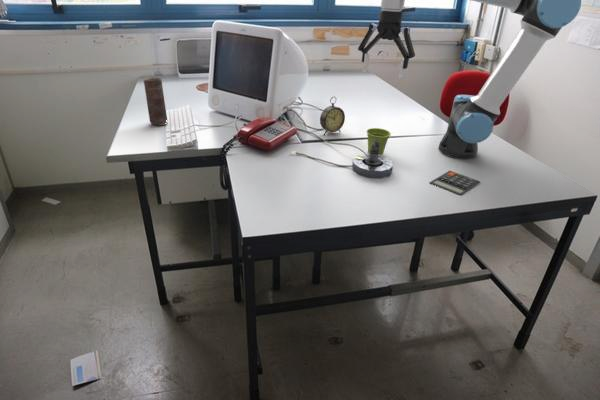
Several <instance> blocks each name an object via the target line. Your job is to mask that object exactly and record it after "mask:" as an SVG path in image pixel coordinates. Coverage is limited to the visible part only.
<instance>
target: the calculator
mask: <svg viewBox="0 0 600 400" xmlns="http://www.w3.org/2000/svg"><path fill="white" fill-rule="evenodd" d="M480 183H481V181H480V180H478V179H475V178H472V177H469V176H466V175H463V174H461V173H458V172H456V171H452V170H448V171H447V172H445V173H443V174H441V175H439V176H438V177H436V178H434V179H433V180H431V181H429V185H432V184H433V185H432V186H435V185H436V186H435V187H437V186H438V188H441V189H442V188H443V190H446V191H447V190H448V192H449V193H453V194H456V195H457V196H460V195H461V196H463V195H464V194H466V193H468V190H469V191H470V190H471V189H473V188H475V187H476V186H477V185H478V184H480ZM465 192H466V193H465Z"/></svg>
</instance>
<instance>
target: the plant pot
mask: <svg viewBox="0 0 600 400" xmlns="http://www.w3.org/2000/svg"><path fill="white" fill-rule="evenodd" d="M366 134H367V135H366V136H367V153H369V154H368V155H370V150H371V146H372V142H374V141H376V139H377V141H378V142H379V143H380V147H379V151H380V153H379V155H378V156H382V155H383V154H384V152H385V149H386V146H387V142H388V140H389V138H390V137H391V132H390V131H389V130H387V129H383V128H381V127H380V128H378V127H375V128H373V127H372V128H368V129H367V130H366Z"/></svg>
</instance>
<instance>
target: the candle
mask: <svg viewBox="0 0 600 400" xmlns="http://www.w3.org/2000/svg"><path fill="white" fill-rule="evenodd" d="M143 86H144V91H145V98H146V99H145V100H146V104H147V112H148V119H149V123H150V124H152V125H159V126H166V125H165V123H166V120H167V121H168V115H167V109H166V102H165V96H164V94H165V93H164V88H163V80H162V78H161V77H160V78H159V77H157V76H154V77H151V78H147V79H143Z"/></svg>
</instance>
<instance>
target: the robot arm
mask: <svg viewBox="0 0 600 400" xmlns="http://www.w3.org/2000/svg"><path fill="white" fill-rule="evenodd" d="M470 1H472V2H476V3H481V4H486V5H491V6H495V7H500V8H504V9H509V12H511V13H512V14H516V15H520V16H523V17H522V18H521V19H520V26H521V28H520V30H519V31H518V33H517V34H516V36H515V37H514V39H513V40H512V42H511V43H510V45H509V47H508V48H507V49H506V51H505V52H504V54H503V56H502V57H501V58H500V60H499V61H498V63H497V65H496V66H495V68H494V69H493V71H492V72H491V74H490V75H489V77H488V78H487V80H486V81H485V83H484V84H483V86H482V87H481V89H480V90H479V91H478V94H476V95H472V94H471V95H470V94H457V95H455V97H454V99H453V102H452V106H451V107H452V108H451V111H450V116H449V121H448V123H447V130H446V132H445V133H444V135H443V136H442V138H441V140H440V142H439V144H438V148H437V149H439V150H440V151H441V152H442V153H441V152H440V151H439V150H438V151H439V152H440V153H441V154H443V153H444V154H443V155H445V154H446V155H445V156H447V155H449V156H448V157H450V156H452V157H451V158H454V157H456V158H455V159H460V158H462V159H464V160H468V159H469V158H471V159H474V158H476V157H477V156H476V155H478V151H479V147H478V146H479V144H478V143H481V142H483V141H486V140H487V139H488V138H489V137H490V136H491V135H492V132H493V129H494V124H495V122H496V120H497V119H498V117H499V116H500V115H501V111H500V107H501V106H502V104H503V103H504V101H505V100H506V99H507V97H508V96H509V94H510V93H511V91H512V90H513V89H514V87H515V86H516V84H517V83H518V81H519V80H520V79H521V77H522V76H523V74H524V73H525V71H526V70H527V69H528V68H529V66H530V65H531V63H532V61H534V59H535V58H536V56H537V55H538V53H539V52H540V51H541V49H542V47H544V45H545V43H546V42H547V41H549V40H551V39H554V38H556V36H557V35H558V34H559V33H560V31H561V30H562V28H563V27H565V26H567V25H568V24H570V23H571V22H573V20H575V18H576V17H577V16H578V14H579V12H580V11H581V10H580V9H581V7H582V0H470ZM380 2H381V3H380V9H381V10H380V11H379V12H380V13H379V17H378V18H379V19H378V24H376V23H369V26H368V30H367V32H366V34H365V36H364V37H363V38H362V41H361V42H360V44H359V46H358V47H357V50H358V51H360V52H361V53H362V56H361V62H362V63H363V69H362V73H367V72H368V71H369V62H370V56H371V55H370V54H371V52H369V51H370V50H371V49H372V48H373V47H374V46H375V45H376V44H377V43H378V42H379V41H380V40H381V39H382V40H388V41H393V42H394V43H395V44H396V46H397V48H398V51H399V52H400V53H401V55H402V57H403V58H401V60H400V65H399V73H398V79H400V80H401V79H403V78H404V73H405V69H407V68H408V66H409V61H410V59H413V58H415V56H416V54H415V50H414V46H413V43H412V39H411V36H410V35H411V34H410V31H411V28H410V27H409V26H408V27H402V21H403V13H404V12H403V11H402V10H404V8H405V0H381V1H380ZM376 30H377V32H378V33H377V34H376V36H374V37H373V39H372V40H371V41H370V42H369V40H370V39H371V37H372V35H373V33H374V32H375V31H376ZM400 33H401V34H402V35H403V38H404V42H405V45H406V46H405V45H404V43H403V41H402V40H401V39H402V38H401V37H400ZM368 42H369V43H368ZM462 159H461V160H462ZM469 160H470V159H469Z"/></svg>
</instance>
